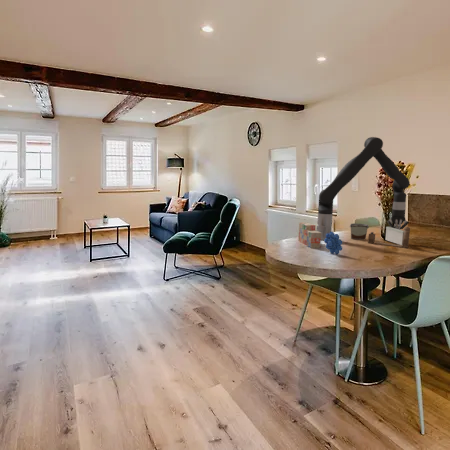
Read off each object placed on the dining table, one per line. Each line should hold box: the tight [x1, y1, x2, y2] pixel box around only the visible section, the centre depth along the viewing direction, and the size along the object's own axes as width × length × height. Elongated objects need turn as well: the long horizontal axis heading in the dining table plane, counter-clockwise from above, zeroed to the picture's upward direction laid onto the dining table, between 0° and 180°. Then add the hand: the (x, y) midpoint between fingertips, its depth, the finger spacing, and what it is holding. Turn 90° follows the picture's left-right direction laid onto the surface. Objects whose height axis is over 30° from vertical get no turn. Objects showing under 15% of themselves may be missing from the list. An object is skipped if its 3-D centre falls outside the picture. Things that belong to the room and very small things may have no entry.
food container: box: [349, 223, 370, 240], centre depth 236 cm, size 12×6×10 cm, turn 84°
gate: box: [385, 226, 404, 246], centre depth 219 cm, size 18×2×9 cm, turn 7°
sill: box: [374, 241, 403, 248], centre depth 216 cm, size 4×16×1 cm, turn 44°
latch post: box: [367, 231, 376, 245], centre depth 220 cm, size 3×3×7 cm
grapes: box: [323, 231, 343, 255], centre depth 188 cm, size 12×7×12 cm, turn 38°
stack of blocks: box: [297, 222, 322, 249], centre depth 212 cm, size 21×6×12 cm, turn 7°
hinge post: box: [401, 226, 411, 249], centre depth 208 cm, size 3×3×13 cm
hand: (396, 235), depth 225 cm, fingers closed
